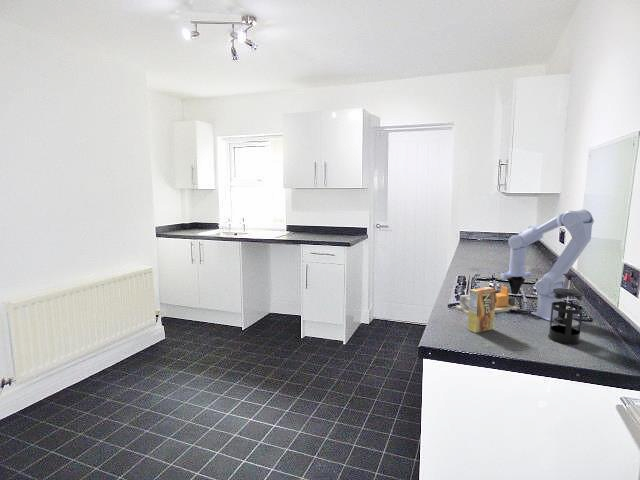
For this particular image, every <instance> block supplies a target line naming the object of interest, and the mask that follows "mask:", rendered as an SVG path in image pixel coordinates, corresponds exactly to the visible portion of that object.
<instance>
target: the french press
mask: <svg viewBox="0 0 640 480" xmlns="http://www.w3.org/2000/svg"><path fill="white" fill-rule="evenodd" d="M563 275H564V276H565V277H567V281H568V285H567V286H568V287H567V288H564V287H563V288H557V289H553V292H554V297H555V298H557V299H564V298H566V301H565V300H564V301H560V302H553V303H552V307H551V318H550V321H549V329H548V330H549V331H548V334H547V338H548V339H549V340H551V341H553V342H555V343H559V344H562V345H569V346H570V345H571V346H574V345H575V346H576V345H579V344H580V343H581V340H580V337H581V325H582V318H583V306H581V305H580V304H578V303H577V304H576V303H574V302H573V303H572V302H569V297H573V298H575V299H577V300H578V301H579V302H581V301H583V297H584V296H585V292H582V291H580V290H577V289H571V288H570V284H571V281H572V278H577V277H578V275H577V274H575V273H569V272H567V273H566V274H563ZM557 305H559V307H556V306H557ZM568 307H569V308H570V307H571V308H574V309H568ZM553 309H554V310H556V311H559V312H558V317H554V318H552V316H553ZM574 315H579V317H578V321H577V320H576V319H574V318H573V317H574ZM552 324H554V325H552ZM576 328H578V329H576Z"/></svg>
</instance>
